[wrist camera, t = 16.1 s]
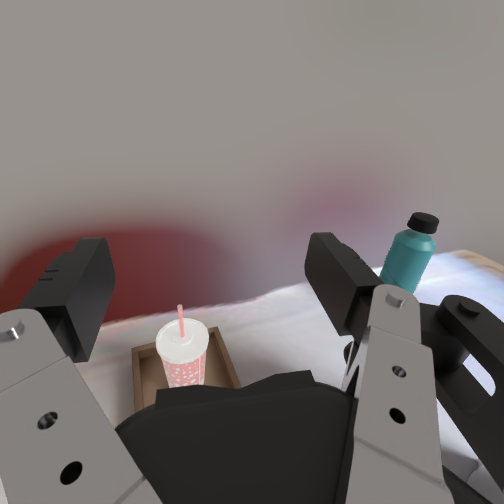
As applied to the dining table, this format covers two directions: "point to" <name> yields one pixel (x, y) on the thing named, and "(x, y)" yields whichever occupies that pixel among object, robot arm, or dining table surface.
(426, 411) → the robot arm
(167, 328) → the beverage cup
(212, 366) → the walnut tray
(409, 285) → the beverage bottle
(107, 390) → the dining table surface
